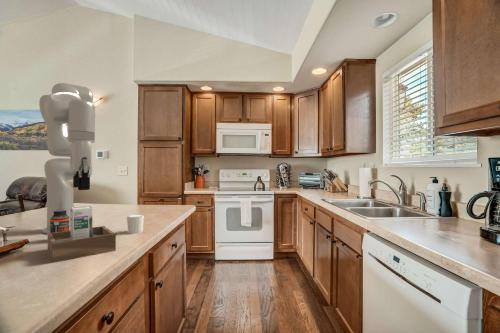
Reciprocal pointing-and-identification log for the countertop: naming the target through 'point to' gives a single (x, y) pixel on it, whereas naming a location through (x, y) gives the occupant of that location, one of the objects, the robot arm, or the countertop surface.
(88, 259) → the countertop surface
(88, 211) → the syrup box
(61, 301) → the countertop surface
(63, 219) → the supplement bottle
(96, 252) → the crate
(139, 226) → the white cup
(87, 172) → the robot arm
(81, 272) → the countertop surface
